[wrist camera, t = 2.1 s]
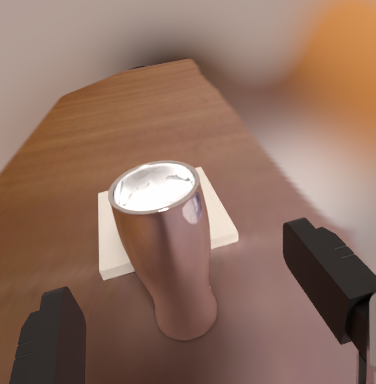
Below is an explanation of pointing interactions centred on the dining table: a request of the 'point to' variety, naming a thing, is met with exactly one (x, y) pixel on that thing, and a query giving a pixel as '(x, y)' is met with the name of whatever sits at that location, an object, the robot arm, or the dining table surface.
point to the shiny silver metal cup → (168, 243)
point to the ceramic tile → (112, 247)
